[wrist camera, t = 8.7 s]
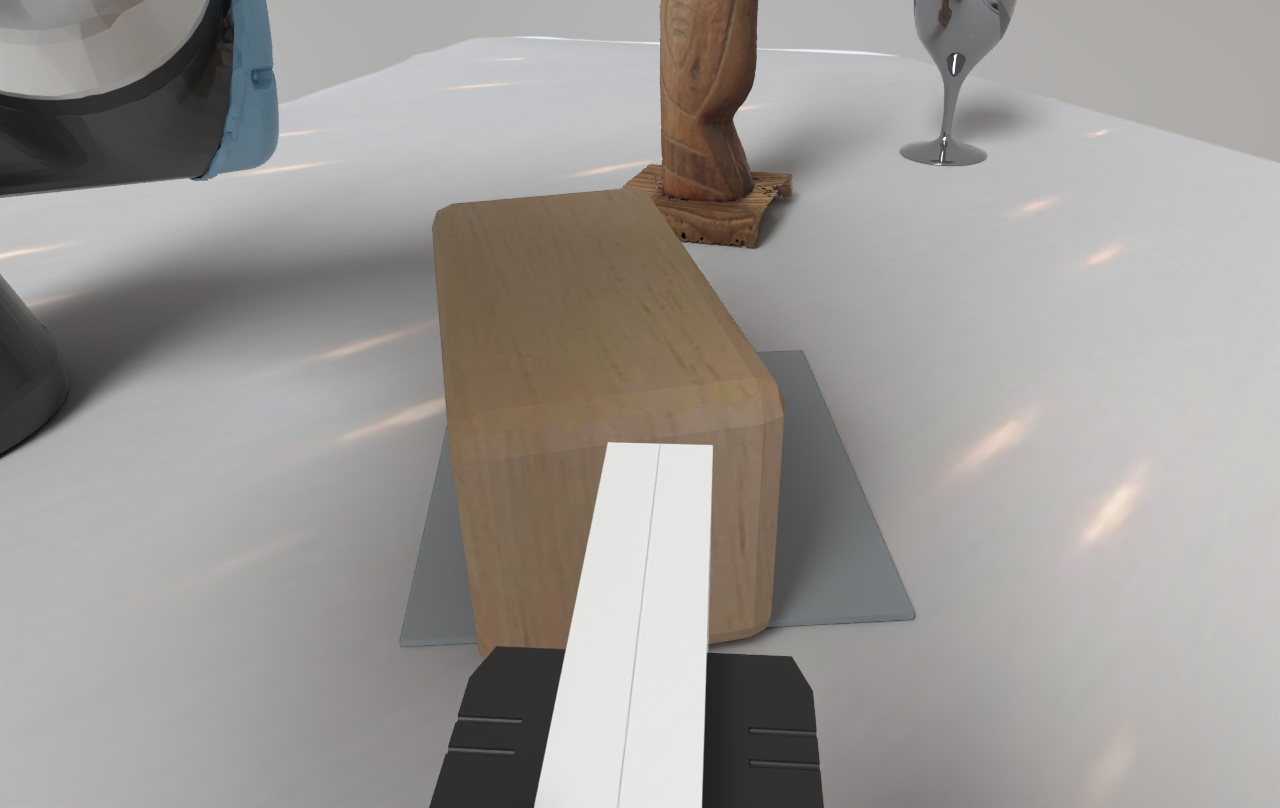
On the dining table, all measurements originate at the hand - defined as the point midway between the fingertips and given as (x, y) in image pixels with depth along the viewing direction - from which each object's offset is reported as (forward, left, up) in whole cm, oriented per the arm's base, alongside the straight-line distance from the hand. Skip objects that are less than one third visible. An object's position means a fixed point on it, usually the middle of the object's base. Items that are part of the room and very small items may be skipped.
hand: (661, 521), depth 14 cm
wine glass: (-69, +29, -16) cm, 76 cm away
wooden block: (-11, 0, -10) cm, 15 cm away
